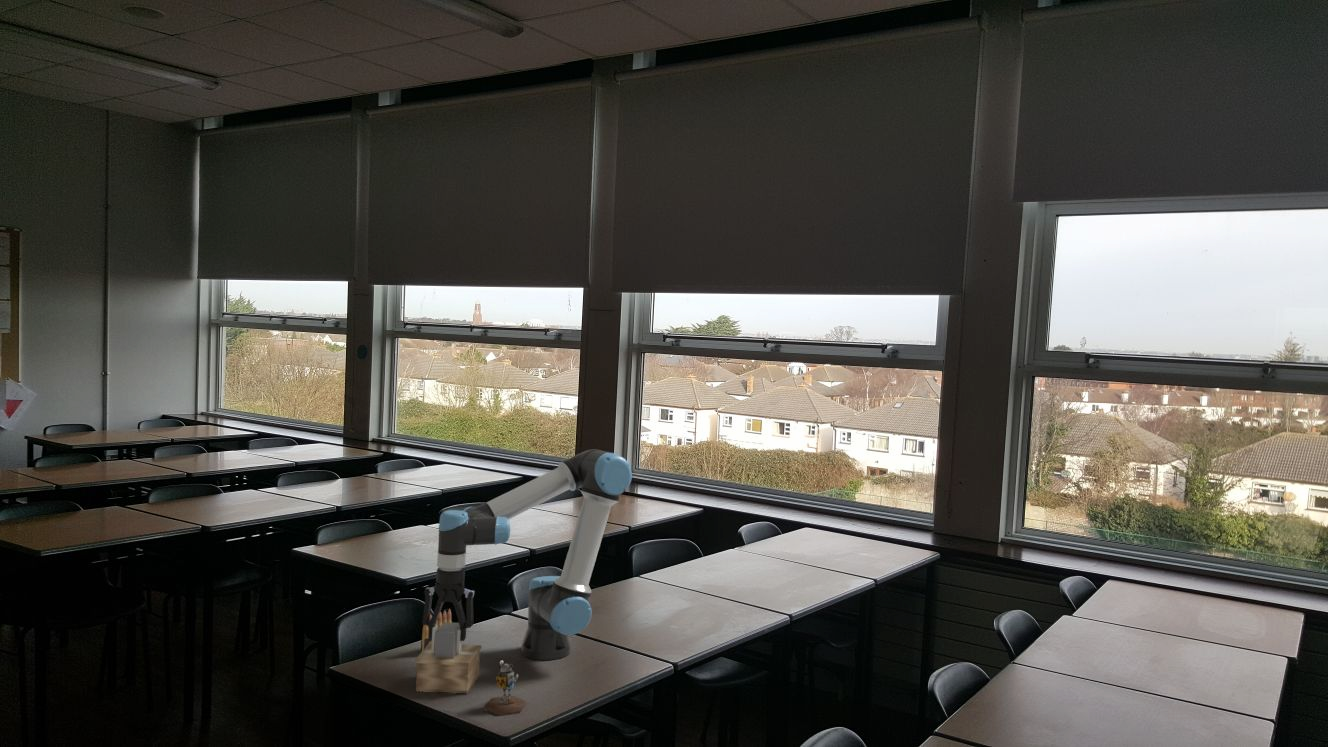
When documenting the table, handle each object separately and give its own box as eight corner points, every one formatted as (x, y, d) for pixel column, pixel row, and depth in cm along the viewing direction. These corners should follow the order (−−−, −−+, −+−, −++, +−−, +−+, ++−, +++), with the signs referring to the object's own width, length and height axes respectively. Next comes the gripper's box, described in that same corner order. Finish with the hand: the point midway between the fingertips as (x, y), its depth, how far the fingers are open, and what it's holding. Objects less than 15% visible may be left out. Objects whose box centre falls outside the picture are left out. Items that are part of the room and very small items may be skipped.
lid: (481, 648, 240) (481, 645, 240) (469, 665, 228) (469, 662, 228) (429, 645, 241) (429, 642, 241) (414, 662, 228) (414, 659, 228)
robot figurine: (533, 708, 221) (535, 662, 221) (506, 719, 214) (508, 672, 214) (505, 696, 228) (506, 651, 228) (477, 706, 221) (479, 660, 221)
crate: (478, 677, 241) (479, 649, 240) (467, 694, 229) (468, 664, 228) (430, 674, 241) (430, 646, 241) (415, 691, 229) (416, 661, 229)
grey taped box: (461, 647, 238) (462, 622, 238) (453, 658, 230) (453, 632, 230) (443, 646, 238) (443, 622, 238) (434, 657, 230) (435, 632, 230)
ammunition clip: (424, 656, 256) (425, 616, 255) (420, 654, 257) (421, 615, 256) (452, 647, 264) (453, 608, 264) (448, 645, 265) (450, 607, 265)
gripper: (488, 566, 237) (484, 649, 238) (421, 562, 238) (416, 644, 238) (482, 573, 230) (477, 658, 230) (412, 568, 230) (407, 653, 231)
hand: (446, 651), depth 234 cm, fingers open, 6 cm apart
